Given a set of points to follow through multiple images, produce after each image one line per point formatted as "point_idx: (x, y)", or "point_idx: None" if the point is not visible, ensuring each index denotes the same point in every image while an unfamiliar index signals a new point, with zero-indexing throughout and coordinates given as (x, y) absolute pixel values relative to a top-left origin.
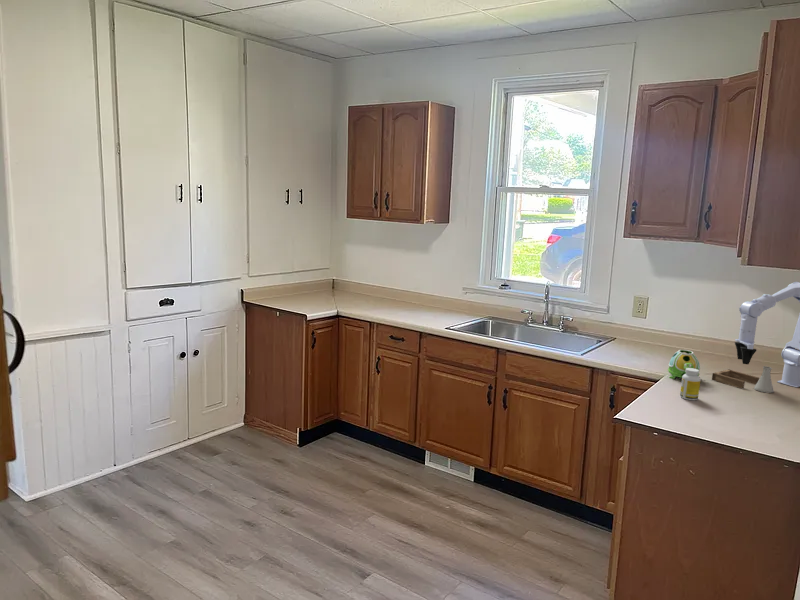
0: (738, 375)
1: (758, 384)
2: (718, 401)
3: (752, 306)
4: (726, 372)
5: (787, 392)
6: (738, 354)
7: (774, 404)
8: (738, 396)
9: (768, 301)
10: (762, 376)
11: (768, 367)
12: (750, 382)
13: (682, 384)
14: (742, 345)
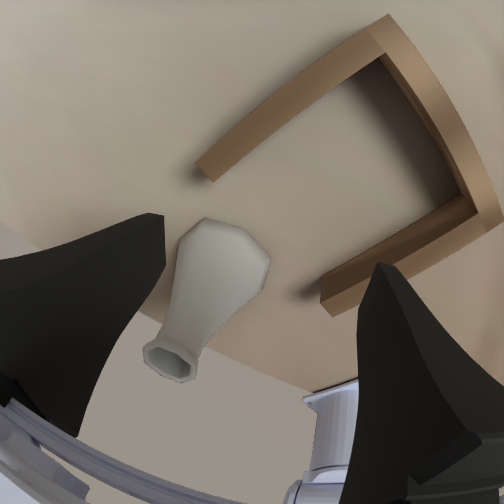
0: (424, 234)
1: (195, 247)
2: (10, 7)
3: None
4: (455, 164)
5: (227, 342)
6: (390, 302)
7: (47, 208)
8: (73, 86)
9: None
10: (181, 295)
11: (187, 374)
12: (351, 261)
13: None
14: (384, 467)
